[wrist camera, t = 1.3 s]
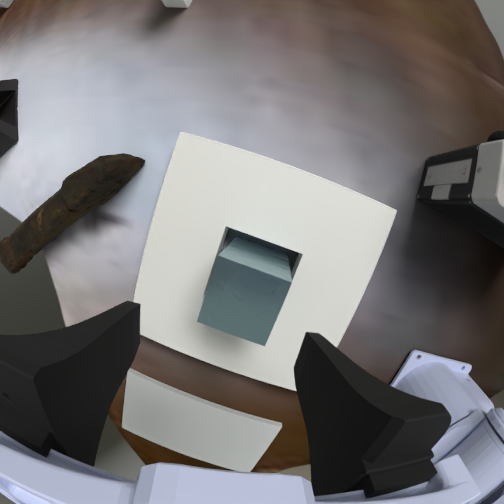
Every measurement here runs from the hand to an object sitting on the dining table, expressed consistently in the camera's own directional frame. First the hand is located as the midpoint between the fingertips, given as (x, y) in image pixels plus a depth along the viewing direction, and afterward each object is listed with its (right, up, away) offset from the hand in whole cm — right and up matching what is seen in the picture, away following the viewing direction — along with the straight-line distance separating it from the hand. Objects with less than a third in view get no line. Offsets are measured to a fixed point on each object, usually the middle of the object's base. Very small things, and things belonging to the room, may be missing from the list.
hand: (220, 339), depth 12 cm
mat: (-5, -15, +14) cm, 21 cm away
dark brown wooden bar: (-16, +8, +11) cm, 21 cm away
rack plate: (+1, +2, +10) cm, 10 cm away
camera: (+22, +9, +7) cm, 25 cm away
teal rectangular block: (+1, +2, +10) cm, 10 cm away
